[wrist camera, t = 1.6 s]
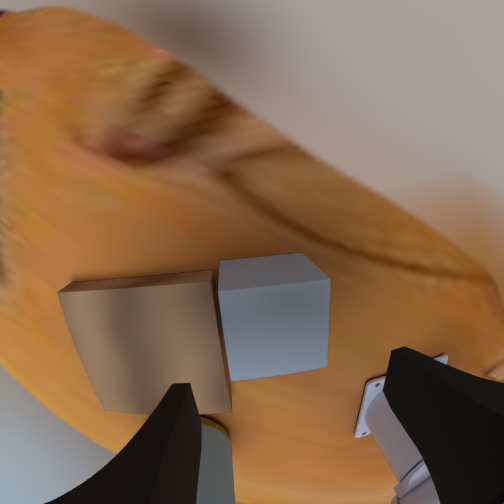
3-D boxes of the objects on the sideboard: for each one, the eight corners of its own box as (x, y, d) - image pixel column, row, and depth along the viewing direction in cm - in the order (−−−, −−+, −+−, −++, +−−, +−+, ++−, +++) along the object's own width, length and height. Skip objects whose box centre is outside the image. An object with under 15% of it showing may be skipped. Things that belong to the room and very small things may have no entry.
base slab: (212, 269, 17) (210, 281, 15) (231, 394, 19) (232, 412, 17) (71, 282, 16) (57, 292, 14) (111, 395, 18) (104, 410, 16)
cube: (301, 252, 17) (330, 278, 12) (303, 324, 18) (326, 367, 13) (219, 260, 17) (217, 291, 12) (229, 333, 18) (231, 380, 13)
